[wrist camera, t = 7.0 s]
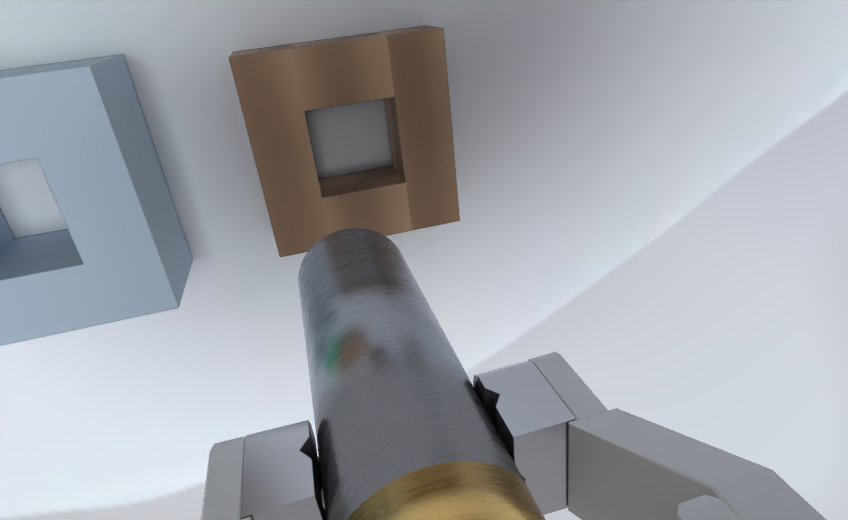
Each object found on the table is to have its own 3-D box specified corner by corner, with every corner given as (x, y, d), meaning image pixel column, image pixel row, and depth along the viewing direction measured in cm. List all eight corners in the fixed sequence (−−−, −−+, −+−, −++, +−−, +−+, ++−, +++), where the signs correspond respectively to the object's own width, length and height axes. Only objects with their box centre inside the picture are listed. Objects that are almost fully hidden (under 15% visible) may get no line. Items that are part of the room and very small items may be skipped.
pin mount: (425, 25, 26) (443, 28, 23) (443, 201, 30) (459, 220, 27) (233, 52, 24) (229, 58, 22) (278, 233, 28) (280, 257, 26)
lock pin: (398, 217, 14) (596, 537, 6) (411, 310, 15) (589, 685, 7) (287, 240, 13) (322, 630, 5) (311, 334, 15) (371, 771, 6)
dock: (122, 54, 23) (89, 66, 19) (192, 260, 28) (178, 307, 24) (-144, 89, 22) (-248, 111, 17) (-23, 303, 26) (-82, 363, 22)
